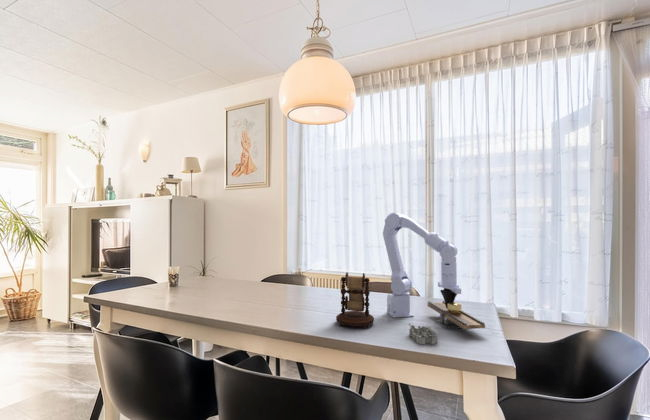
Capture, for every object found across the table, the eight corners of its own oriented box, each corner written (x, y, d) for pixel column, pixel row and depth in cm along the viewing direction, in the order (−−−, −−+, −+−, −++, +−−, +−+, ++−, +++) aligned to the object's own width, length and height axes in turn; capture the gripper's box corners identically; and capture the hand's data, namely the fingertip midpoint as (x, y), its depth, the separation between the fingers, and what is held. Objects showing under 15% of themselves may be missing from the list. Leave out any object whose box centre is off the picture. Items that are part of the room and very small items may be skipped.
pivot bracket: (445, 328, 121) (445, 316, 121) (435, 322, 129) (435, 311, 129) (472, 327, 123) (472, 315, 123) (460, 321, 130) (460, 310, 131)
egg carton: (407, 334, 116) (407, 322, 116) (428, 334, 116) (428, 322, 116) (417, 345, 105) (416, 332, 105) (439, 345, 105) (439, 332, 105)
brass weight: (453, 315, 122) (453, 306, 122) (444, 311, 127) (444, 302, 127) (464, 314, 124) (464, 305, 124) (455, 310, 129) (455, 301, 129)
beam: (463, 329, 111) (463, 323, 112) (427, 305, 139) (427, 301, 139) (485, 328, 113) (485, 322, 113) (444, 305, 140) (444, 300, 140)
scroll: (375, 319, 132) (375, 270, 133) (371, 331, 118) (371, 276, 118) (340, 317, 136) (340, 269, 136) (332, 328, 121) (332, 274, 122)
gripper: (468, 277, 123) (468, 312, 122) (448, 271, 137) (449, 303, 137) (451, 277, 122) (451, 313, 121) (433, 271, 136) (433, 303, 136)
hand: (449, 308), depth 129 cm, fingers closed
